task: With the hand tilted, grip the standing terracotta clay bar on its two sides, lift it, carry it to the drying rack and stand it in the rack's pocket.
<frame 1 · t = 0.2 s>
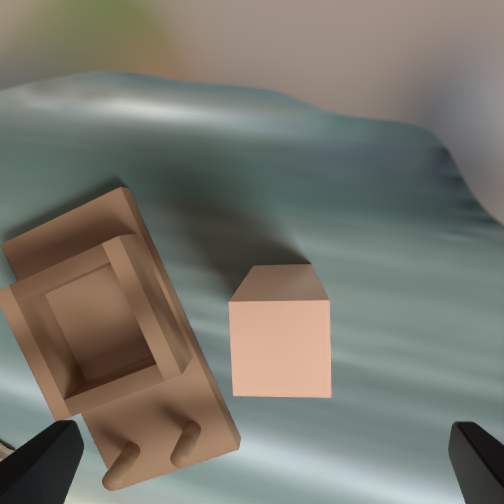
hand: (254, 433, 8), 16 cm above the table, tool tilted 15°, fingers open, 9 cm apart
clay bar: (283, 293, 23), on the table
rack: (126, 340, 25), on the table
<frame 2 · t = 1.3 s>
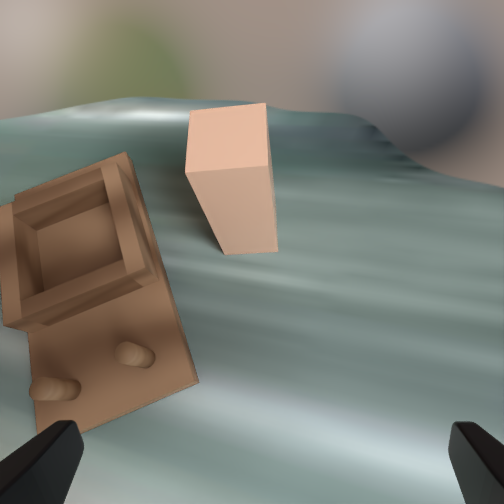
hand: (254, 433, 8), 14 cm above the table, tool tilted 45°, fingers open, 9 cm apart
clay bar: (250, 229, 26), on the table
rack: (98, 278, 26), on the table
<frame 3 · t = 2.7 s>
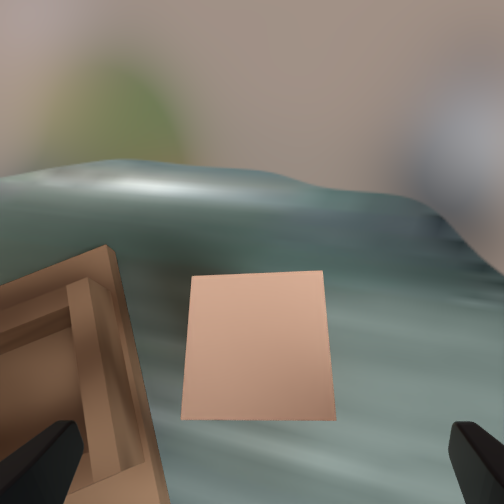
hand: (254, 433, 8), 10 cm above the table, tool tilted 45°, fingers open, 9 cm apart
clay bar: (275, 371, 18), on the table
rack: (61, 438, 18), on the table
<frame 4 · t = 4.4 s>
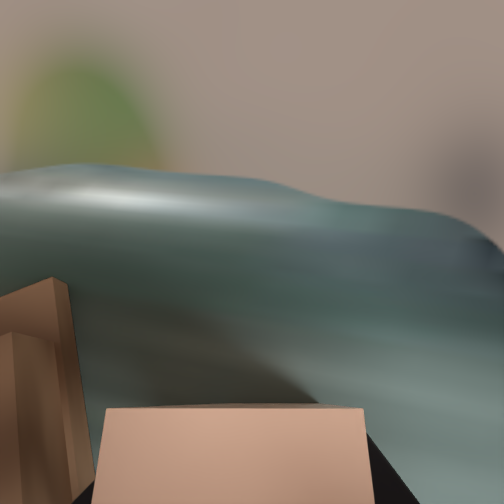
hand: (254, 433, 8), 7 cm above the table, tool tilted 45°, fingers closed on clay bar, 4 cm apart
clay bar: (272, 458, 13), on the table, touching gripper
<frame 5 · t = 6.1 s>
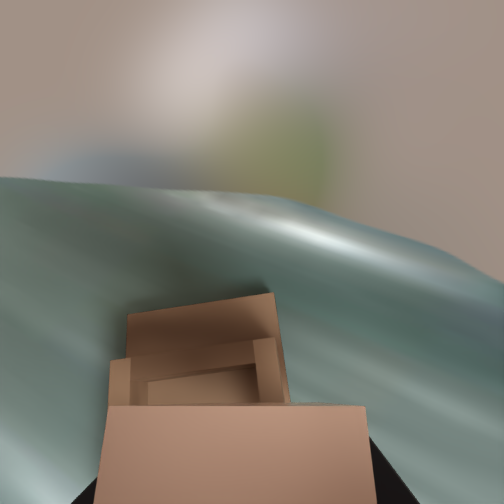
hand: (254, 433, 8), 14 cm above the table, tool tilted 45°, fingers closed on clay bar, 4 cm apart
clay bar: (273, 457, 13), point 7 cm above the table, touching gripper
rack: (214, 476, 19), on the table
when the fingers open (9 cm above the table, at t = 7.7 s): clay bar drops 1 cm, resting on rack.
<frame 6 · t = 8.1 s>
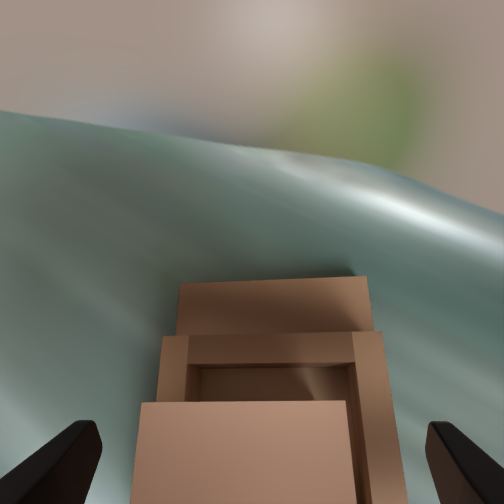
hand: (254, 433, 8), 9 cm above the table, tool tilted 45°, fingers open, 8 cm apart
clay bar: (273, 451, 15), point 1 cm above the table, touching rack
rack: (277, 499, 15), on the table
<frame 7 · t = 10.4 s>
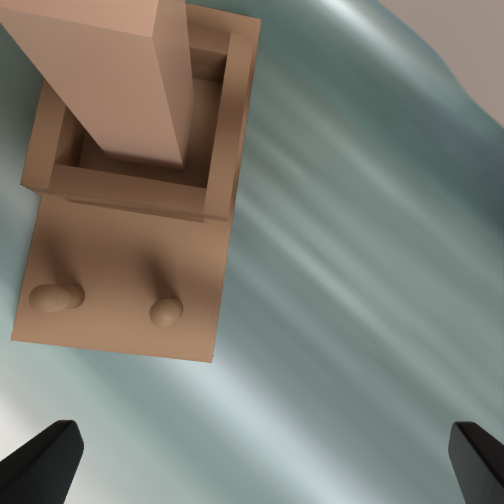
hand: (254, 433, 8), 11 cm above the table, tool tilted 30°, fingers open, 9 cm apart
clay bar: (153, 130, 19), point 1 cm above the table, touching rack
rack: (151, 172, 19), on the table
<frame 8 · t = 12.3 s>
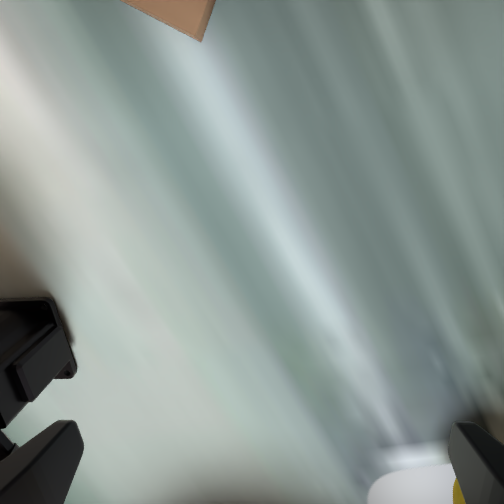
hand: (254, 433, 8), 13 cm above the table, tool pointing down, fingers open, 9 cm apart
lemon: (471, 459, 25), on the table
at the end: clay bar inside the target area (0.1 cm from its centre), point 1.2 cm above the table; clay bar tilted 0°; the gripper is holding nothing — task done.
